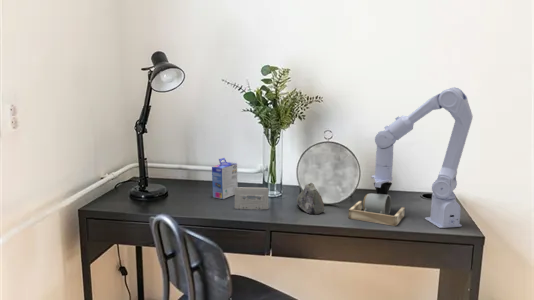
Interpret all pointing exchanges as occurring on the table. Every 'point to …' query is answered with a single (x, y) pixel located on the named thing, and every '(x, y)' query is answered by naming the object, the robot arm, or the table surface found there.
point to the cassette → (251, 203)
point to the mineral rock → (310, 200)
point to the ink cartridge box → (224, 179)
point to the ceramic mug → (377, 203)
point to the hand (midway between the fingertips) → (381, 202)
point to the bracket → (375, 215)
